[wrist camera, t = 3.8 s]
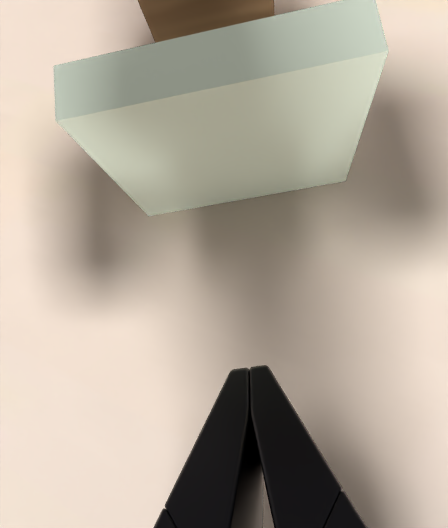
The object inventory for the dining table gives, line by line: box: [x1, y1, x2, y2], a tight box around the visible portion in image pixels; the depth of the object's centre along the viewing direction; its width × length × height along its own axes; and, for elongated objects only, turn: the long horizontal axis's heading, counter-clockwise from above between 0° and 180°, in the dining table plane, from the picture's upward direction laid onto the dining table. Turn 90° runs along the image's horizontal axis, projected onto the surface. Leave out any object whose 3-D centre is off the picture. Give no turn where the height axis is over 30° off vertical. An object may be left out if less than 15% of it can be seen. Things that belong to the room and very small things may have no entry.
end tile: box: [54, 0, 389, 216], centre depth 17 cm, size 2×10×9 cm, turn 97°
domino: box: [138, 0, 274, 43], centre depth 18 cm, size 2×5×9 cm, turn 97°
